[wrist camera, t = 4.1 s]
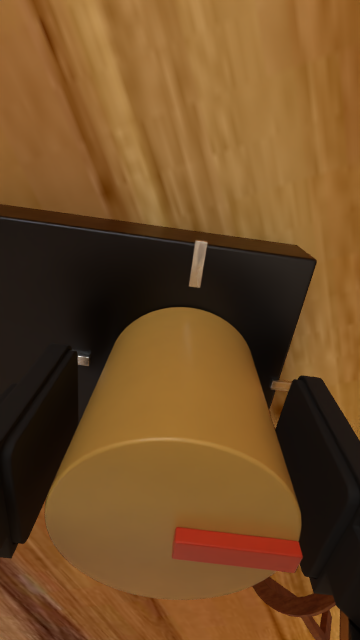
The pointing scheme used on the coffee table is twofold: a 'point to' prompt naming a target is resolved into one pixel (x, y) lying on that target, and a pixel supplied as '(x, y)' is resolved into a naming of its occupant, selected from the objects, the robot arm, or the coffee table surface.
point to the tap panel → (138, 289)
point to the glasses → (299, 606)
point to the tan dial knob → (176, 467)
